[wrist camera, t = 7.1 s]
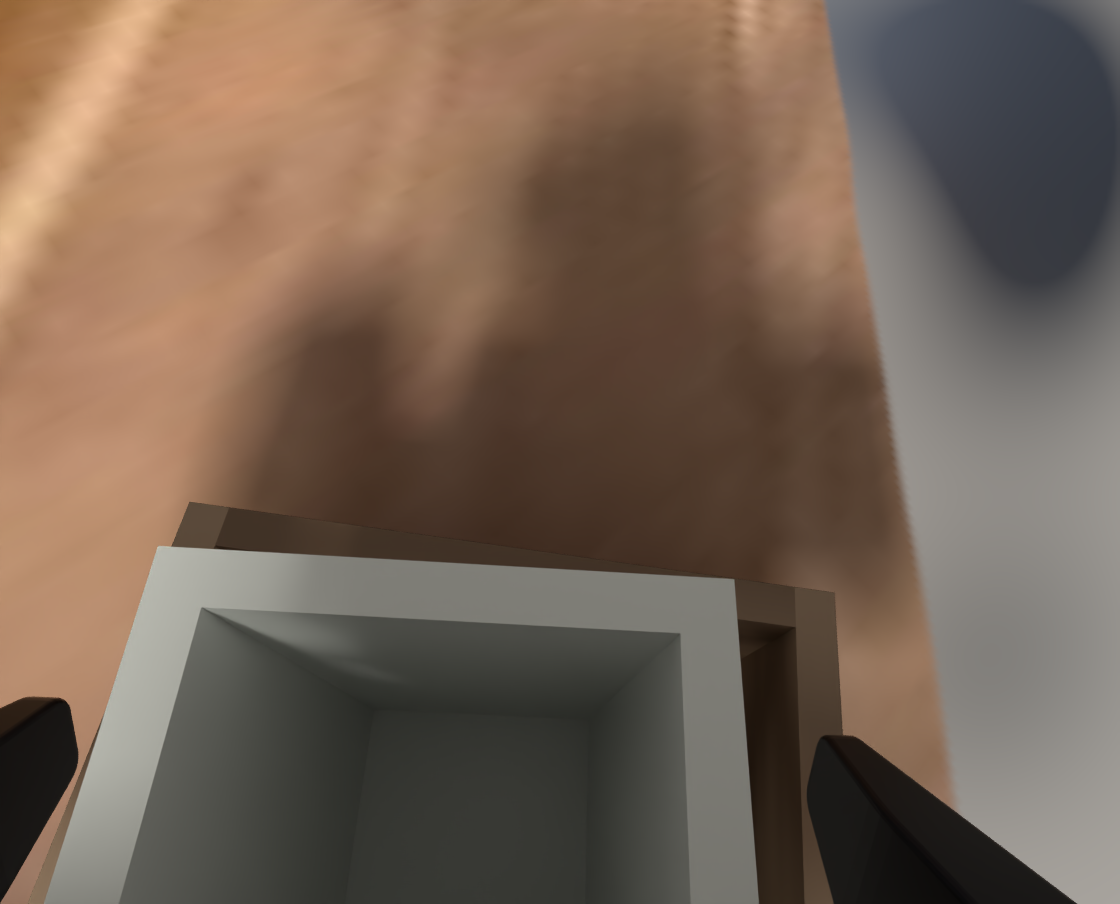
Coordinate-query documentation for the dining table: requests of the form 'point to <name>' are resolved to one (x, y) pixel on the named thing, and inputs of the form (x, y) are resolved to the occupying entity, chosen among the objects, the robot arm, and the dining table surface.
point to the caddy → (417, 739)
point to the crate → (762, 608)
